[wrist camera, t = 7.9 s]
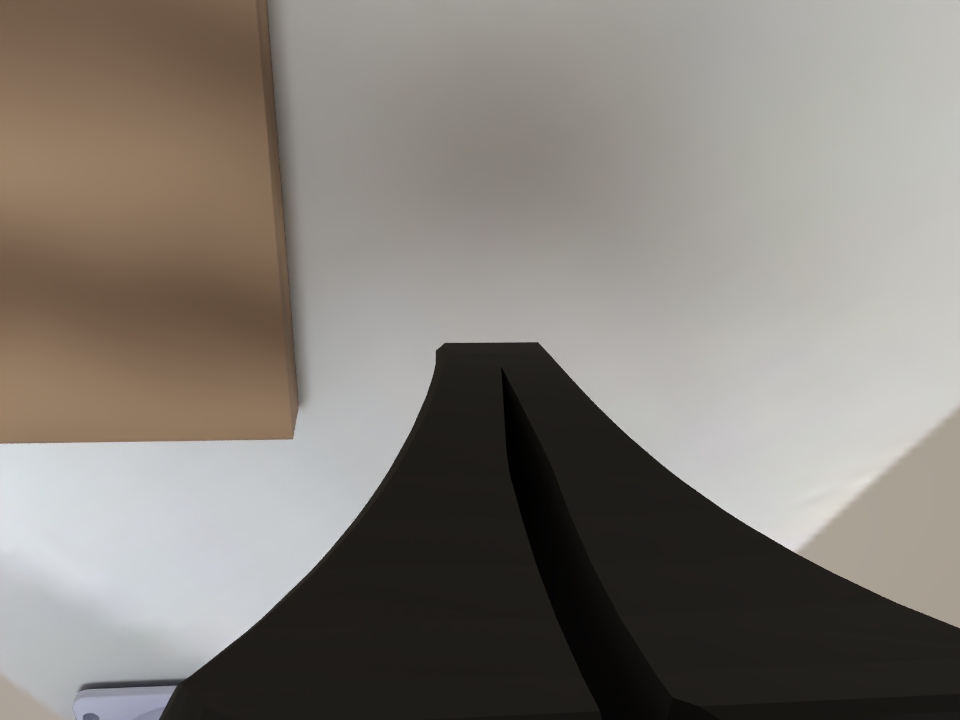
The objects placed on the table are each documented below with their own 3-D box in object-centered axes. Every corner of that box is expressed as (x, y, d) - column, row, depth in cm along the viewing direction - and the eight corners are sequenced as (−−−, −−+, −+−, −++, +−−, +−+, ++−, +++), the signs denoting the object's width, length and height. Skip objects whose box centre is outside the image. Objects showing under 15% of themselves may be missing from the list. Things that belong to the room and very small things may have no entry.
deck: (298, 406, 23) (292, 439, 22) (-88, 410, 23) (-117, 445, 21) (213, -671, 13) (193, -726, 12) (-506, -748, 12) (-610, -815, 11)
